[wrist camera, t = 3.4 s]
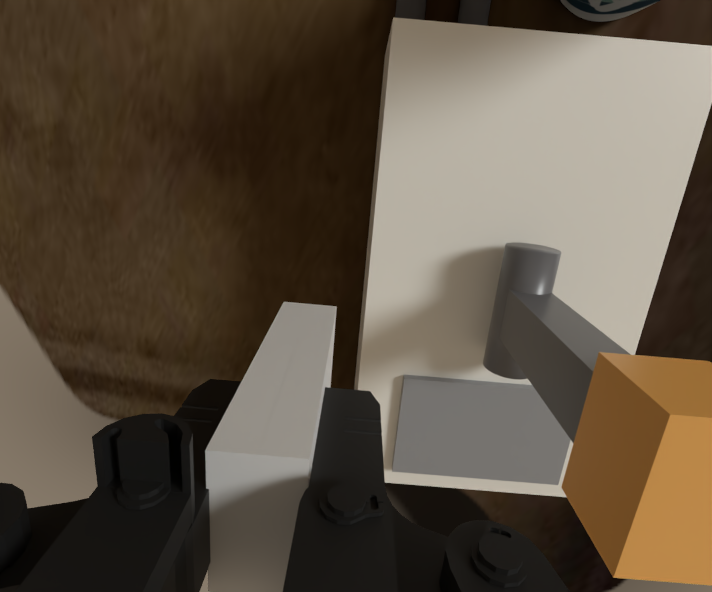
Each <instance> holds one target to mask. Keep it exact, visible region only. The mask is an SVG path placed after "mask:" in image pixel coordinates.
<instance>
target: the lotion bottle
mask: <svg viewBox="0 0 712 592" xmlns="http://www.w3.org/2000/svg"><path fill="white" fill-rule="evenodd" d="M658 1H660V0H561V2H562V3H563V4H564V6H565V7H566V8H567V9H568V10H569V11H571V12H572V13H573V14H575V15H577V16H578V17H580V18H583V19H586V20H589V21H597V22H603V21H612V20H616V19H620V18H623V17H626V16H628V15H631V14H633V13H635V12H637V11H639V10H642V9H644V8H646V7H648V6H650V5H652V4H654V3H656V2H658Z"/></svg>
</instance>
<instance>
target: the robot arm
mask: <svg viewBox="0 0 712 592" xmlns="http://www.w3.org/2000/svg"><path fill="white" fill-rule="evenodd" d="M336 309H337V306H327V305H316V304H304V303H293V302H283V304H282V306H281V308H280V310H279V312H278V314H277V315H276V317H275V319H274V321H273V323H272V325H271V327H270V329H269V331H268V332H267V334H266V336H265V338H264V340H263V342H262V344H261V346H260V348H259V349H258V351H257V353H256V355H255V357H254V359H253V361H252V363H251V365H250V367H249V368H248V370H247V372H246V374H245V376H244V378H243V380H242V382H239V381H227V380H215V379H210V380H208V381H207V382H205V383H203V384H202V385H200V386H198V387H197V388H195V389H194V390H192V392H191V393H190V394H189V396H188V397H187V399H186V400H185V401H184V403H183V404H182V408H181V407H180V408H179V410H178V411H177V413H176V414H175V415H174V416H171V415H166V414H141V415H137V416H132V417H128V418H123V419H121V420H119V421H117V422H114V423H112V424H110V425H107V426H106V427H104V428H103V429H102V430H100V431H99V432H98V433H97V434H95V435H94V436H93V437H92V440H93V449H94V458H95V467H96V475H97V484H98V487H97V488H96V489H95V491H94V492H93V493H92V494H91V496H90V497H89V498H87V499H82V500H78V501H73V502H68V503H61V504H54V505H49V506H41V507H35V508H28V509H27V504H26V500H25V496H24V492H23V491H22V490H21V489H19V488H18V487H16V486H14V485H13V484H6V483H0V592H199V591H200V588H201V586H202V583H203V580H204V578H205V575H206V572H207V570H208V591H210V592H570V591H569V590H568V589H567V587H566V586H565V584H564V583H563V581H562V580H561V579H560V577H559V576H558V574H557V573H556V572H555V570H554V569H553V567H552V566H551V564H550V563H549V562H548V560H547V559H546V557H545V556H544V554H543V553H542V552H541V551H540V550H539V549H538V548H537V547H536V546H535V545H534V544H533V543H532V542H531V541H530V539H528V538H527V537H525V536H524V535H522V534H521V533H519V532H517V531H516V530H514V529H513V528H511V527H508V526H505V525H502V524H499V523H496V522H493V521H480V520H473V521H470V522H467V523H464V524H461V525H459V526H458V527H457V528H456V529H455V530H454V531H453V532H452V533H451V534H450V535H449V537H447V536H444V535H441V534H438V533H436V532H433V531H430V530H427V529H424V528H423V527H420V526H418V525H416V524H414V523H412V522H410V521H409V520H408V519H406V518H405V517H403V516H402V515H401V514H400V513H399V512H398V511H397V510H396V509H395V508H394V507H393V506H392V504H391V502H390V500H389V499H388V497H387V493H386V489H385V479H384V462H383V445H382V428H381V411H380V404H379V402H378V401H377V400H376V398H375V397H374V396H373V394H372V393H371V392H370V391H363V390H351V389H340V388H330V387H331V374H332V361H333V348H334V335H335V322H336Z"/></svg>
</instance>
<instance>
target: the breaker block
mask: <svg viewBox="0 0 712 592" xmlns="http://www.w3.org/2000/svg"><path fill="white" fill-rule="evenodd" d="M711 103H712V46H706V45H695V44H684V43H672V42H661V41H650V40H639V39H628V38H617V37H606V36H595V35H583V34H572V33H561V32H550V31H539V30H528V29H517V28H506V27H494V26H483V25H472V24H461V23H450V22H439V21H428V20H417V19H405V18H394V17H393V21H392V25H391V30H390V34H389V39H388V43H387V48H386V53H385V59H384V70H383V81H382V92H381V103H380V114H379V124H378V135H377V146H376V157H375V168H374V179H373V189H372V200H371V211H370V222H369V233H368V244H367V254H366V265H365V276H364V287H363V298H362V309H361V319H360V330H359V341H358V352H357V363H356V374H355V384H354V390H363V391H370V392H371V393H372V394H373V396H374V397H375V398H376V400H377V401H378V402H379V404H380V411H381V428H382V445H383V462H384V479H385V482H386V483H399V484H411V485H424V486H436V487H449V488H460V489H473V490H485V491H497V492H510V493H522V494H534V495H546V496H559V497H567V496H566V495H565V493H564V491H563V489H562V488H561V487H562V483H563V479H564V476H565V472H566V469H567V465H568V461H569V458H570V454H571V451H572V447H573V442H572V441H571V439H570V438H569V437H568V435H567V434H566V432H565V431H564V429H563V428H562V427H561V425H560V424H559V422H558V421H557V420H556V418H555V417H554V415H553V414H552V412H551V411H550V410H549V408H548V407H547V405H546V404H545V402H544V401H543V400H542V398H541V397H540V395H539V394H538V393H537V391H536V390H535V388H534V387H533V385H532V384H531V383H530V381H529V380H528V379H521V380H518V379H509V378H505V377H501V376H498V375H496V374H494V373H492V372H490V371H489V370H487V369H486V368H485V367H484V365H483V359H484V354H485V349H486V343H487V338H488V333H489V328H490V322H491V317H492V312H493V307H494V301H495V296H496V291H497V286H498V280H499V275H500V270H501V265H502V259H503V254H504V249H505V244H506V243H512V242H518V243H530V244H537V245H542V246H547V247H551V248H554V249H557V250H559V251H561V257H560V261H559V266H558V270H557V274H556V279H555V283H554V287H553V291H552V294H554V295H555V296H556V297H558V298H559V299H560V300H561V301H563V302H564V303H565V304H567V305H568V306H569V307H570V308H572V309H573V310H574V311H576V312H577V313H578V314H579V315H581V316H582V317H583V318H585V319H586V320H587V321H588V322H590V323H591V324H592V325H594V326H595V327H596V328H597V329H599V330H600V331H601V332H603V333H604V334H605V335H606V336H608V337H609V338H610V339H612V340H613V341H614V342H615V343H617V344H618V345H619V346H621V347H622V348H623V349H624V350H626V351H627V352H628V353H630V354H631V355H635V352H636V349H637V345H638V342H639V339H640V335H641V332H642V329H643V326H644V322H645V319H646V316H647V313H648V309H649V306H650V303H651V299H652V296H653V293H654V290H655V286H656V283H657V280H658V277H659V273H660V270H661V267H662V263H663V260H664V257H665V254H666V250H667V247H668V244H669V241H670V237H671V234H672V231H673V228H674V224H675V221H676V218H677V214H678V211H679V208H680V205H681V201H682V198H683V195H684V192H685V188H686V185H687V182H688V178H689V175H690V172H691V169H692V165H693V162H694V159H695V156H696V152H697V149H698V146H699V142H700V139H701V136H702V133H703V129H704V126H705V123H706V120H707V116H708V113H709V110H710V107H711Z"/></svg>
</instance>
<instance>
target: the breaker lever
mask: <svg viewBox="0 0 712 592" xmlns="http://www.w3.org/2000/svg"><path fill="white" fill-rule="evenodd" d="M560 257H561V251H559V250H557V249H554V248H551V247H547V246H542V245H537V244H530V243H518V242H512V243H506V244H505V249H504V254H503V259H502V265H501V270H500V275H499V280H498V286H497V291H496V296H495V301H494V307H493V312H492V317H491V322H490V328H489V333H488V338H487V343H486V349H485V354H484V359H483V365H484V367H485V368H486V369H487V370H489V371H490V372H492V373H494V374H496V375H498V376H501V377H505V378H509V379H518V380H521V379H528V380H529V381H530V383H531V384H532V385H533V387H534V388H535V390H536V391H537V393H538V394H539V395H540V397H541V398H542V400H543V401H544V402H545V404H546V405H547V407H548V408H549V410H550V411H551V412H552V414H553V415H554V417H555V418H556V420H557V421H558V422H559V424H560V425H561V427H562V428H563V429H564V431H565V432H566V434H567V435H568V437H569V438H570V439H571V441H572V442H573V447H572V451H571V454H570V458H569V461H568V465H567V469H566V472H565V476H564V479H563V483H562V487H561V488H562V489H563V491H564V493H565V495H566V496H567V498H568V500H569V502H570V503H571V505H572V507H573V508H574V510H575V512H576V514H577V515H578V517H579V519H580V521H581V522H582V524H583V526H584V528H585V529H586V531H587V533H588V534H589V536H590V538H591V540H592V541H593V543H594V545H595V547H596V548H597V550H598V552H599V553H600V555H601V557H602V559H603V560H604V562H605V564H606V566H607V567H608V569H609V571H610V573H611V574H612V576H613V578H625V579H637V580H650V581H662V582H663V581H664V582H675V583H687V584H688V583H689V584H700V585H712V363H711V362H709V361H700V360H688V359H676V358H664V357H652V356H641V355H631V354H630V353H628V352H627V351H626V350H624V349H623V348H622V347H621V346H619V345H618V344H617V343H615V342H614V341H613V340H612V339H610V338H609V337H608V336H606V335H605V334H604V333H603V332H601V331H600V330H599V329H597V328H596V327H595V326H594V325H592V324H591V323H590V322H588V321H587V320H586V319H585V318H583V317H582V316H581V315H579V314H578V313H577V312H576V311H574V310H573V309H572V308H570V307H569V306H568V305H567V304H565V303H564V302H563V301H561V300H560V299H559V298H558V297H556V296H555V295H554V294H552V291H553V287H554V283H555V279H556V274H557V270H558V266H559V261H560Z"/></svg>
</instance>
